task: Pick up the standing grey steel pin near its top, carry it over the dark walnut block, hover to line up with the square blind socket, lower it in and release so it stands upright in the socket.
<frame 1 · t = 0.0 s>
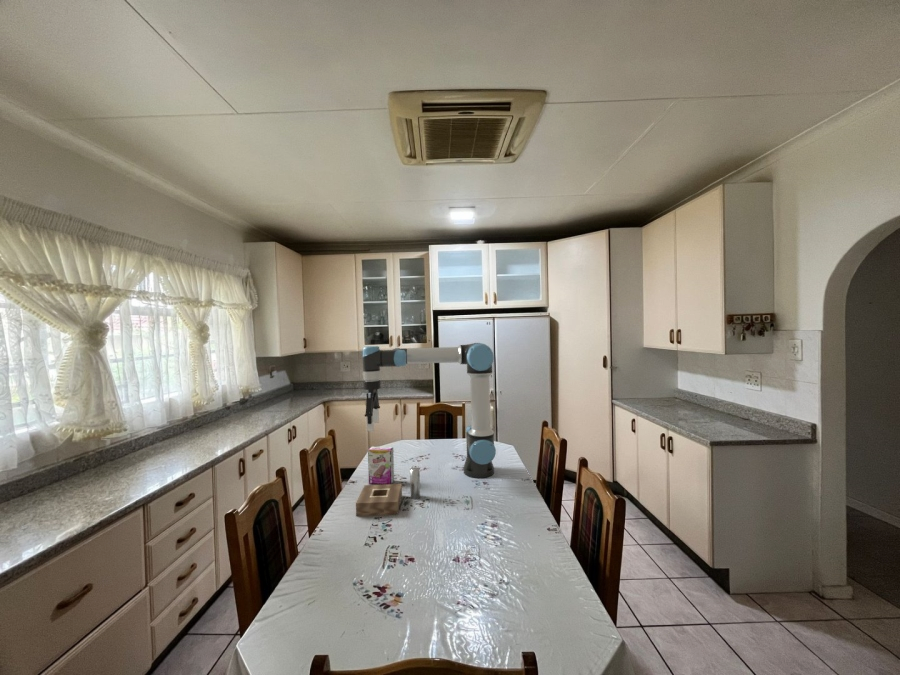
hand: (373, 426, 161), 28 cm above the table, fingers open, 13 cm apart
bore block: (380, 505, 145), on the table
pin: (415, 496, 152), on the table
candy bar box: (381, 482, 167), on the table
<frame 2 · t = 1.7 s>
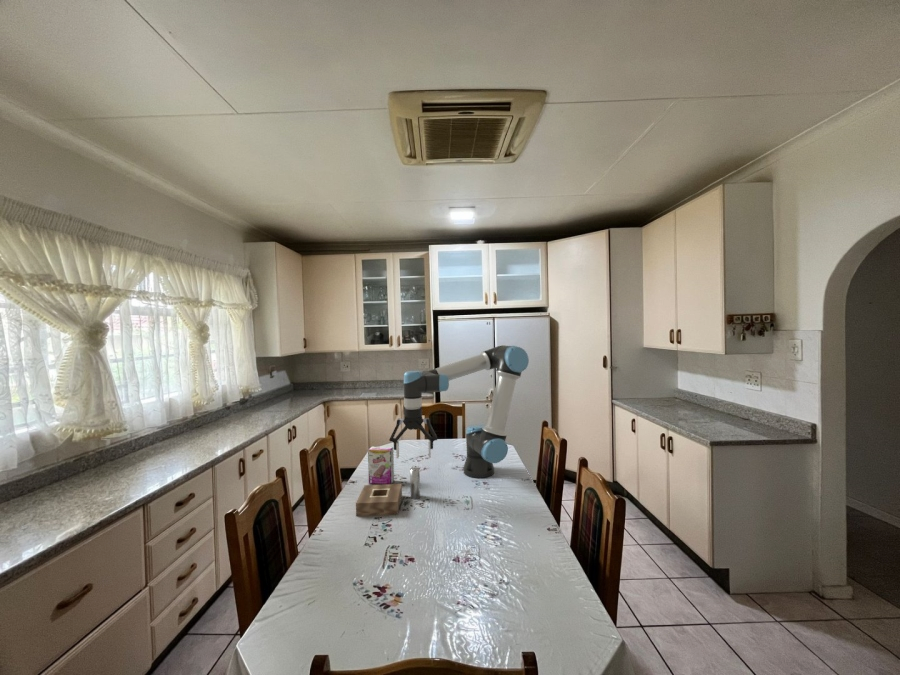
hand: (413, 456, 151), 17 cm above the table, fingers open, 13 cm apart
nothing on the table moved.
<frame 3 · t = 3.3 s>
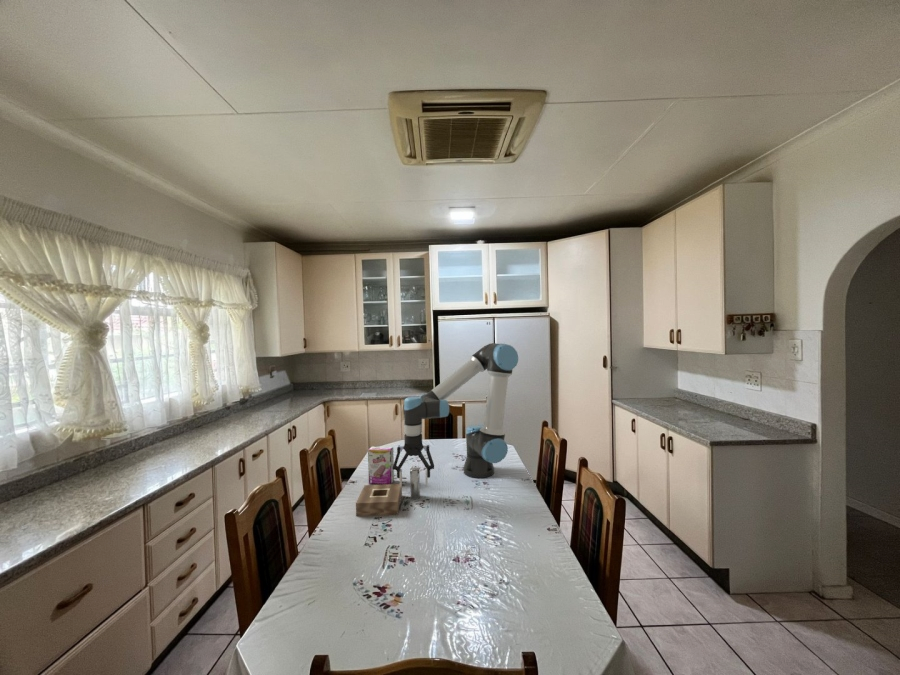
hand: (413, 485, 152), 5 cm above the table, fingers open, 10 cm apart
nothing on the table moved.
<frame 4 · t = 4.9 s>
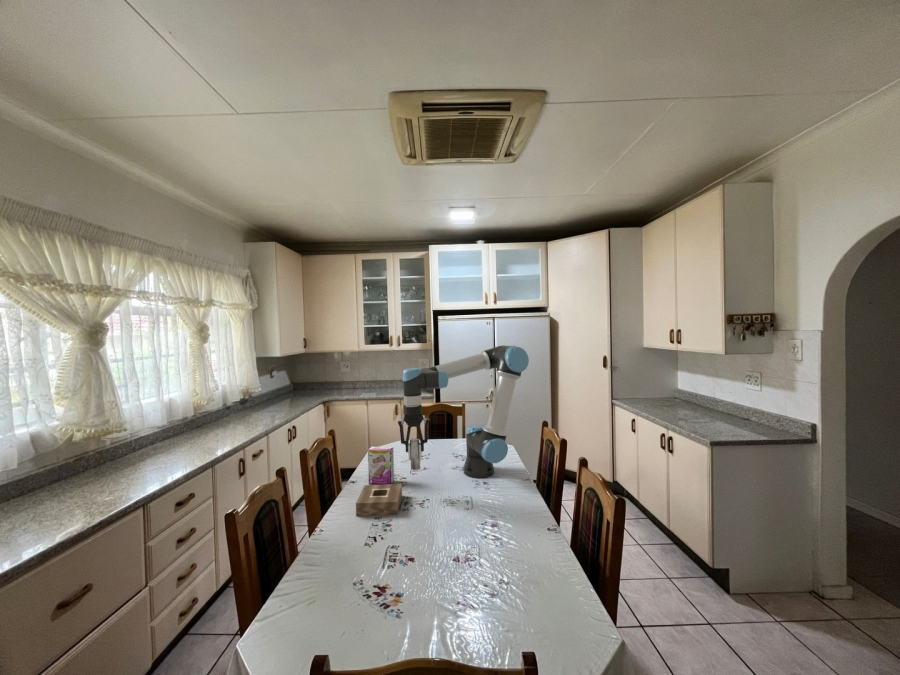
hand: (415, 459, 152), 16 cm above the table, fingers closed on pin, 4 cm apart
pin: (415, 467, 152), point 12 cm above the table, touching gripper
everything else where it was.
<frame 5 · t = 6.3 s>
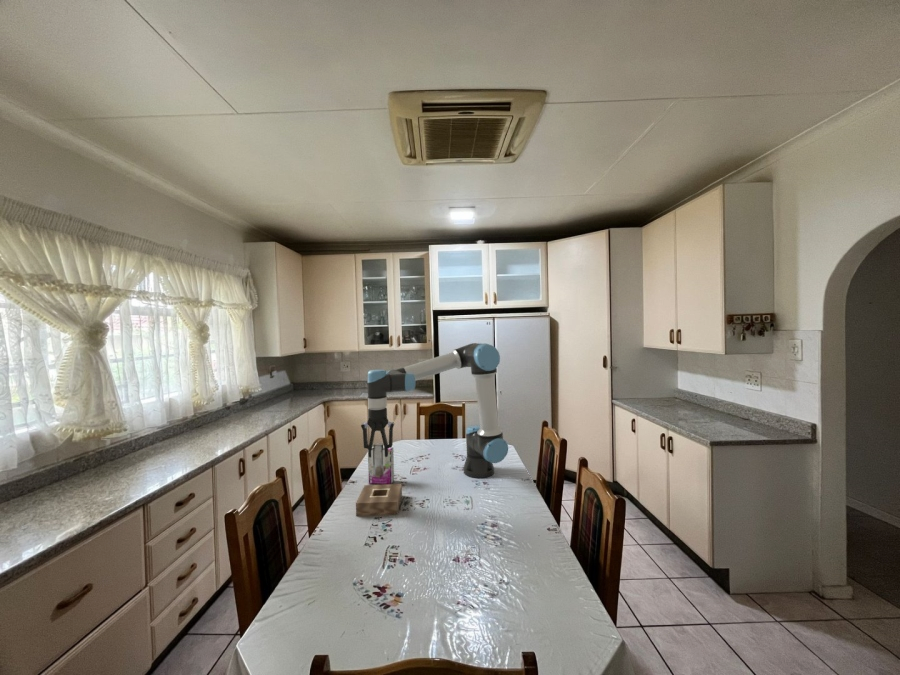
hand: (378, 464, 145), 17 cm above the table, fingers closed on pin, 4 cm apart
pin: (378, 473, 145), point 13 cm above the table, touching gripper
everything else where it was.
when the fingers open (7 cm above the table, at t = 9.0 s): pin drops 2 cm, resting on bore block.
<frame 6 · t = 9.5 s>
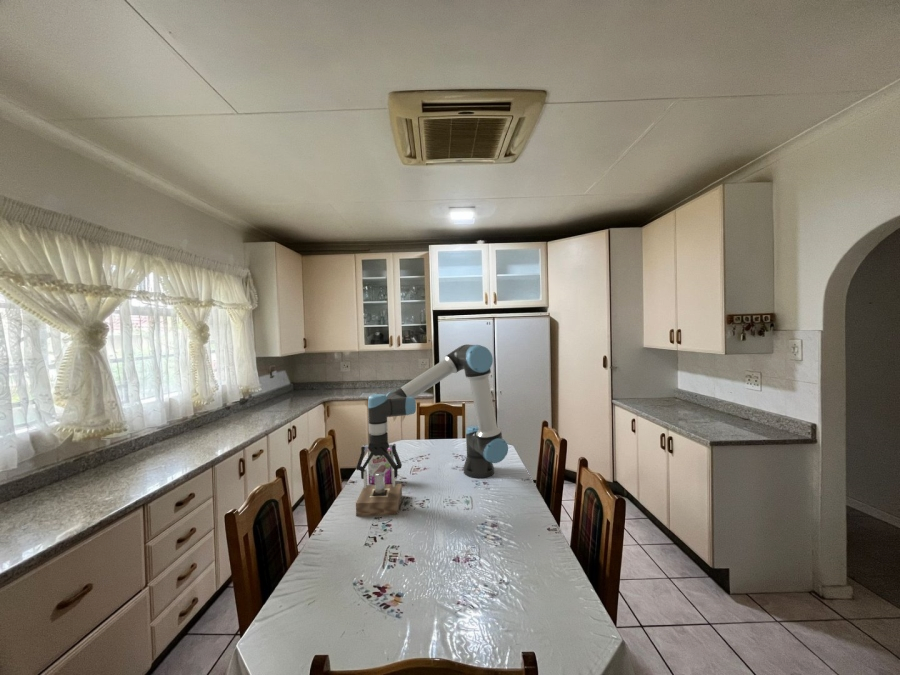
hand: (379, 485, 145), 8 cm above the table, fingers open, 11 cm apart
pin: (380, 502, 145), point 1 cm above the table, touching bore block
everything else where it was.
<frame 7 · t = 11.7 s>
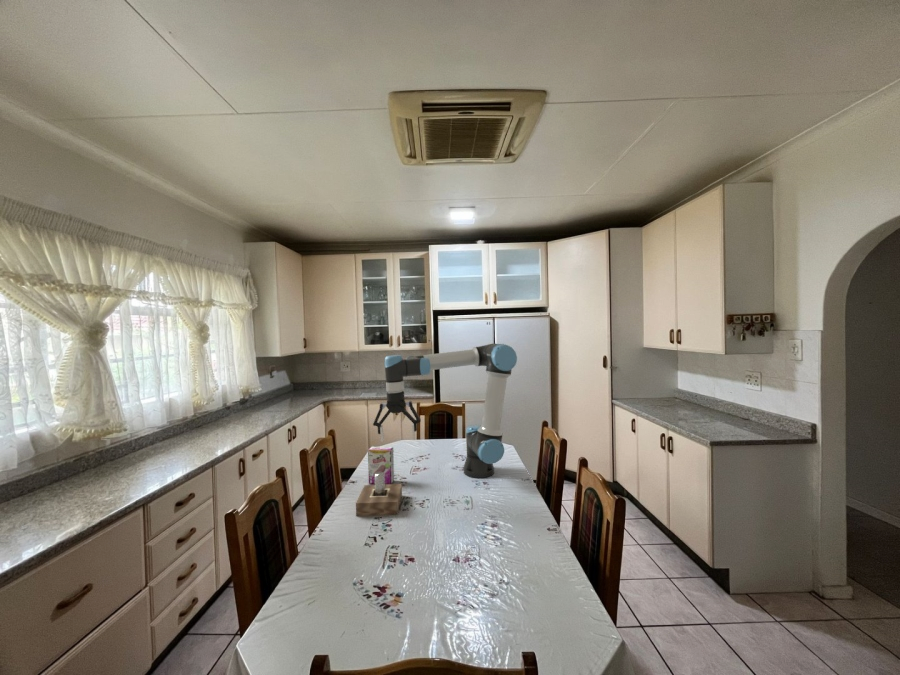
hand: (398, 440, 153), 24 cm above the table, fingers open, 13 cm apart
nothing on the table moved.
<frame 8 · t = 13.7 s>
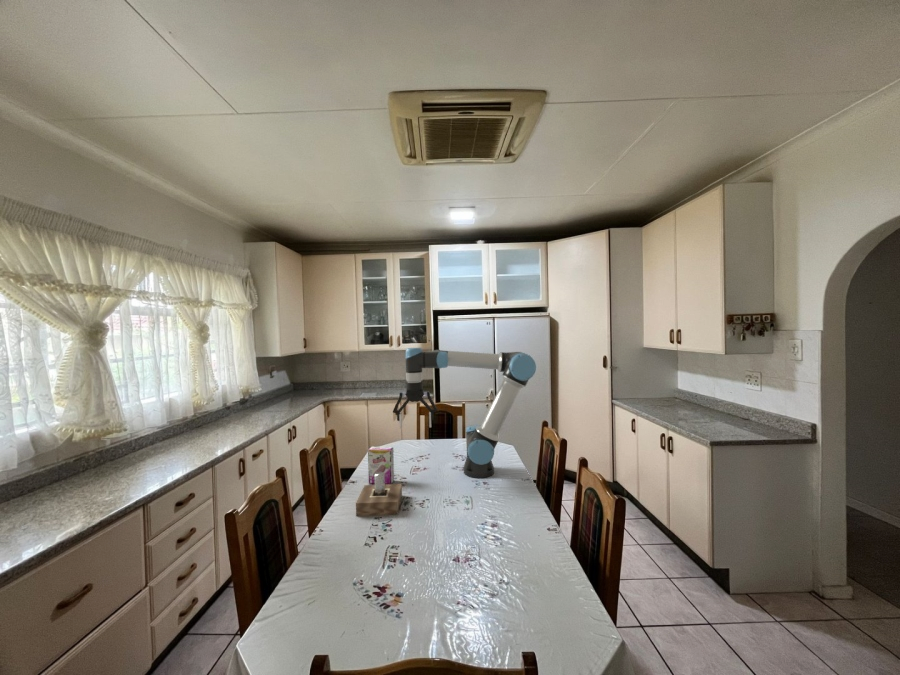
hand: (415, 427, 163), 27 cm above the table, fingers open, 13 cm apart
nothing on the table moved.
at the end: pin 0.1 cm off-centre on the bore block, point 1.0 cm above the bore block's base; pin tilted 1°; the gripper is holding nothing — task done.
